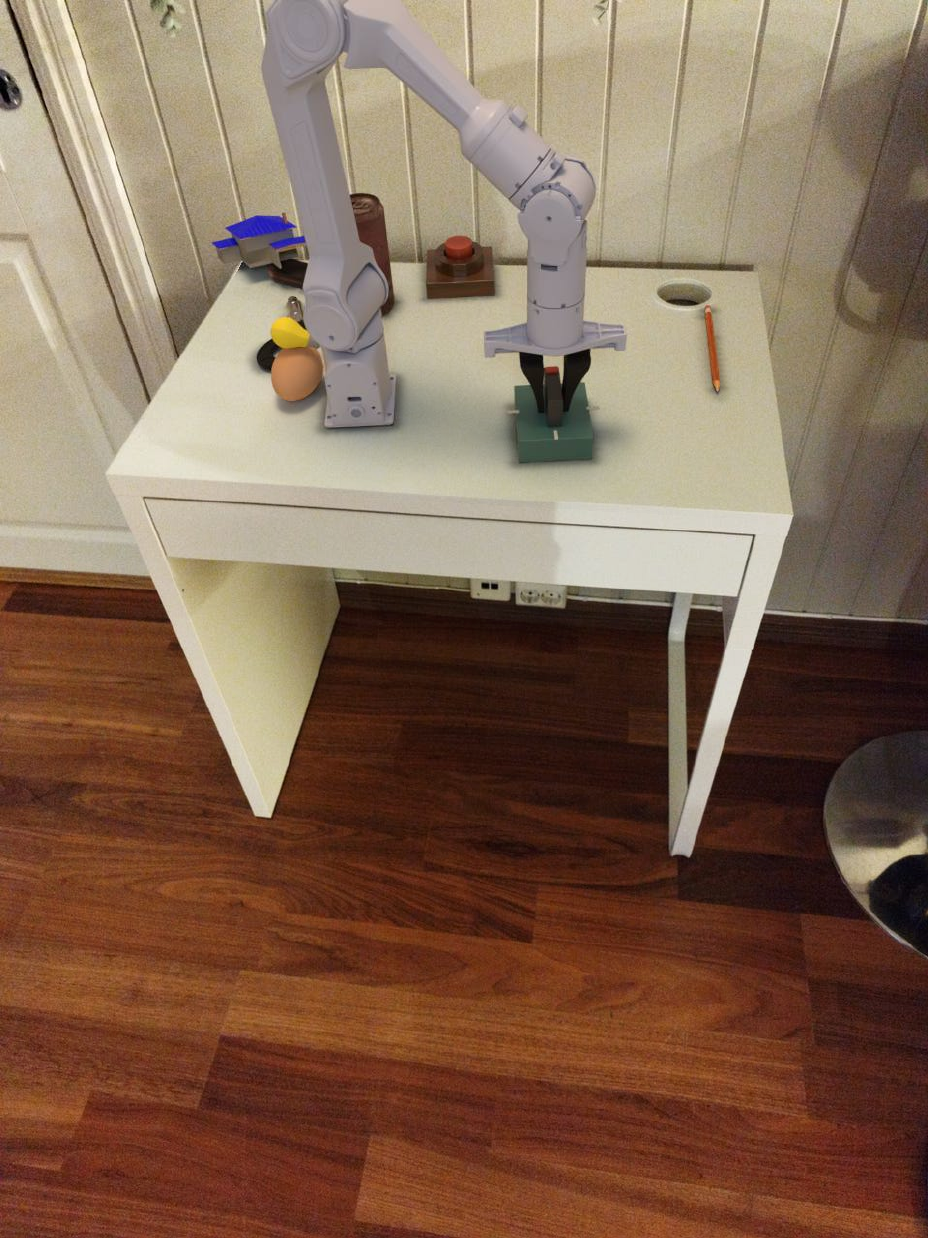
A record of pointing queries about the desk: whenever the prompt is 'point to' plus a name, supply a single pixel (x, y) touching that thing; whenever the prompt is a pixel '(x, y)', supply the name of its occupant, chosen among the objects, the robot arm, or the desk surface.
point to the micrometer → (270, 346)
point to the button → (458, 247)
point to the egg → (296, 372)
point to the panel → (552, 428)
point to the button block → (460, 273)
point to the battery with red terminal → (553, 396)
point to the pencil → (712, 347)
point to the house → (260, 241)
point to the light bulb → (291, 334)
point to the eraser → (289, 272)
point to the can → (374, 235)
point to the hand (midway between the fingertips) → (552, 406)
